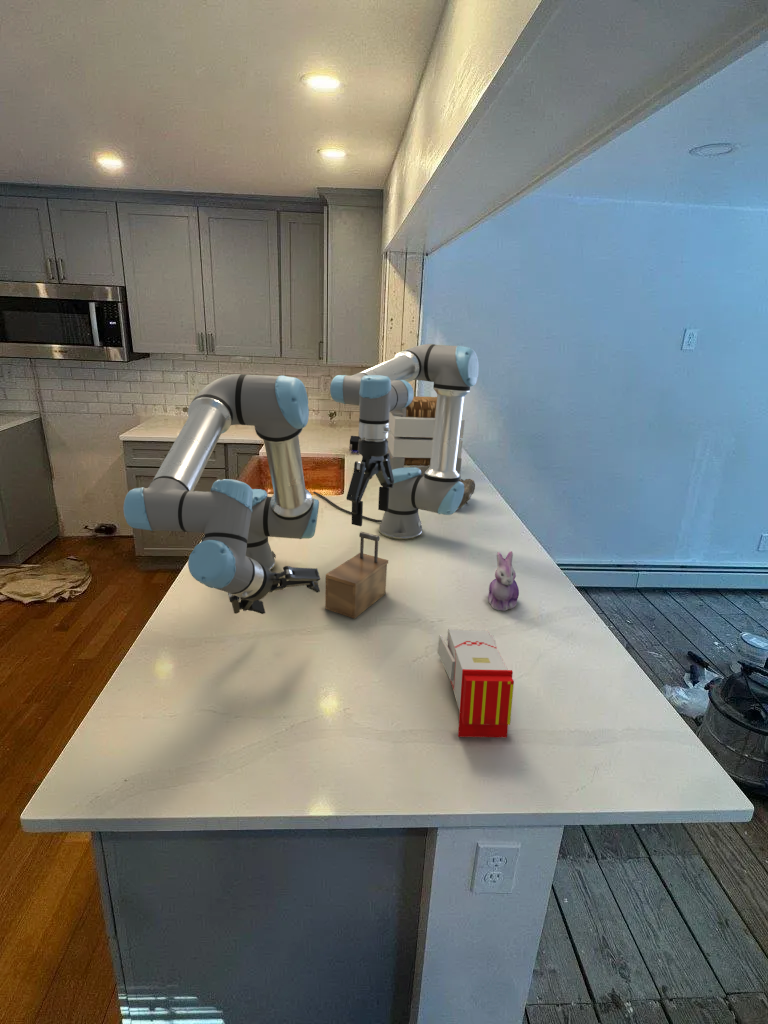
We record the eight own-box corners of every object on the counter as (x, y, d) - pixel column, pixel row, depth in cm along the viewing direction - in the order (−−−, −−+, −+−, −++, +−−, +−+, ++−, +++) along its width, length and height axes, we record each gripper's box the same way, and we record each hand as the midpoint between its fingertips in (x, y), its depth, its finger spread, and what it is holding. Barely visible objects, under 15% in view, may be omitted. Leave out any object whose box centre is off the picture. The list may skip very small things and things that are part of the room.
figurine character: (361, 457, 304) (361, 447, 317) (361, 444, 301) (362, 434, 314) (348, 456, 304) (349, 447, 317) (348, 443, 300) (349, 434, 314)
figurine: (500, 615, 149) (507, 563, 144) (477, 598, 157) (483, 548, 152) (528, 608, 153) (536, 557, 148) (504, 591, 161) (510, 543, 156)
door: (360, 555, 159) (361, 526, 156) (388, 563, 155) (389, 534, 152) (325, 577, 145) (325, 546, 142) (355, 586, 141) (356, 555, 138)
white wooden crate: (382, 463, 289) (386, 382, 275) (445, 464, 293) (451, 384, 279) (390, 482, 257) (394, 392, 243) (460, 483, 261) (468, 394, 247)
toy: (488, 613, 130) (523, 677, 101) (484, 667, 133) (517, 744, 104) (435, 612, 130) (455, 676, 101) (432, 666, 133) (451, 743, 103)
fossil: (439, 484, 243) (468, 465, 238) (451, 501, 246) (481, 483, 241) (438, 506, 224) (470, 486, 219) (452, 524, 226) (484, 505, 221)
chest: (357, 585, 162) (358, 556, 159) (385, 593, 158) (387, 564, 154) (325, 608, 148) (325, 577, 145) (354, 618, 144) (355, 587, 141)
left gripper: (193, 620, 108) (243, 632, 128) (311, 573, 106) (344, 592, 125) (185, 584, 111) (236, 601, 131) (301, 537, 109) (335, 562, 128)
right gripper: (359, 449, 131) (357, 535, 138) (409, 432, 152) (404, 507, 159) (333, 445, 134) (331, 528, 142) (384, 428, 155) (381, 502, 162)
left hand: (289, 597), depth 128 cm, fingers open, 13 cm apart
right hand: (370, 517), depth 150 cm, fingers open, 13 cm apart
